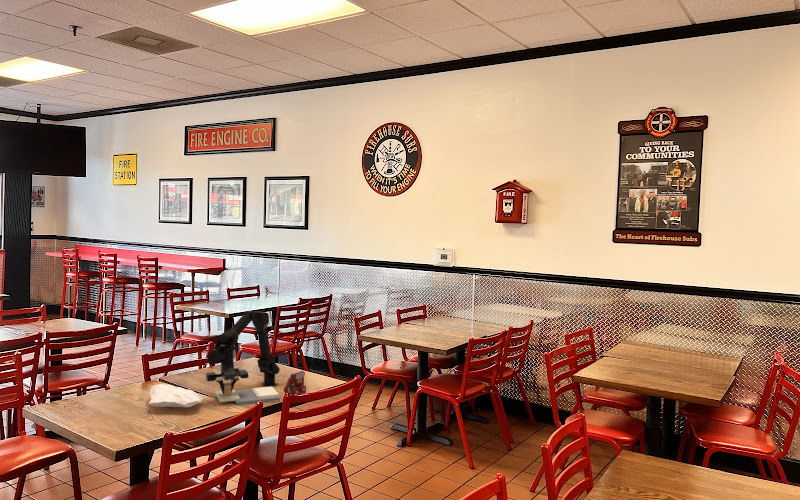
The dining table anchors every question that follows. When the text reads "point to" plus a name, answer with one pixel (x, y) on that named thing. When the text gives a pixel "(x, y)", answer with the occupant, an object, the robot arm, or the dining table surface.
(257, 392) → the board
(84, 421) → the dining table surface
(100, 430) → the dining table surface
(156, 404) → the white rock
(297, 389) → the toy fire truck
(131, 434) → the dining table surface
